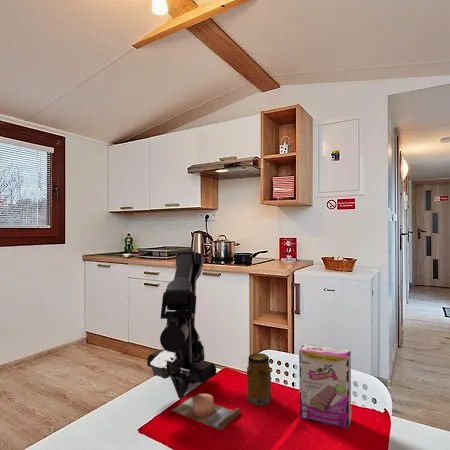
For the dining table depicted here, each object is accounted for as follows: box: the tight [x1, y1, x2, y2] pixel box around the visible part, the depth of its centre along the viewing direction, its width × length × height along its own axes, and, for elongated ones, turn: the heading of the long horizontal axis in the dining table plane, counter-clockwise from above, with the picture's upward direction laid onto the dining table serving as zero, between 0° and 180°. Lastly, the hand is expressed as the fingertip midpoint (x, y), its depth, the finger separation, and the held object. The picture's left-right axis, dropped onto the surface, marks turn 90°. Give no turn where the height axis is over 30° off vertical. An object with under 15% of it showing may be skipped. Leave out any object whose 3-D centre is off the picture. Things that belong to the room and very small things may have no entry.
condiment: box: [246, 352, 272, 407], centre depth 88 cm, size 7×8×12 cm
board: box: [170, 395, 241, 431], centre depth 83 cm, size 15×8×2 cm, turn 56°
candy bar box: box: [298, 343, 352, 430], centre depth 80 cm, size 11×5×16 cm, turn 65°
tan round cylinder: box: [193, 393, 214, 417], centre depth 84 cm, size 5×5×3 cm
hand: (181, 398), depth 88 cm, fingers closed
